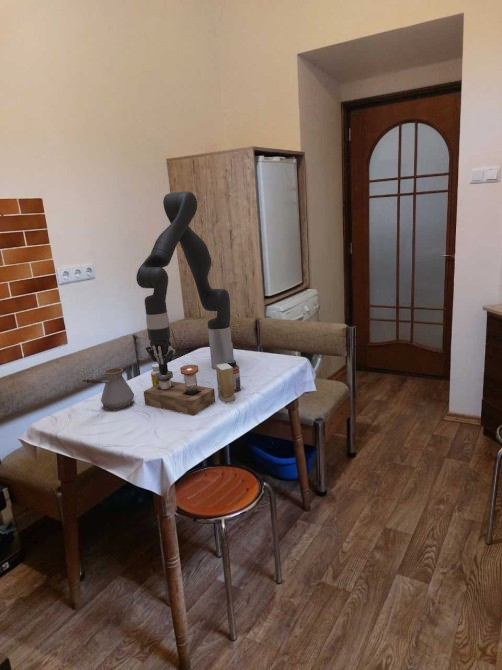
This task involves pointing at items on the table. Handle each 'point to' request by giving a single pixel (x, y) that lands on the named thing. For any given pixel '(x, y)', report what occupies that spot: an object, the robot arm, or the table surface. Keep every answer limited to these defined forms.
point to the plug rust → (190, 379)
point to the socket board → (179, 398)
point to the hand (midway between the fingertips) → (163, 373)
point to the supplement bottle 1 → (153, 372)
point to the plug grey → (164, 380)
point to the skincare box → (225, 382)
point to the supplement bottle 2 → (235, 374)
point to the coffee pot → (114, 389)
